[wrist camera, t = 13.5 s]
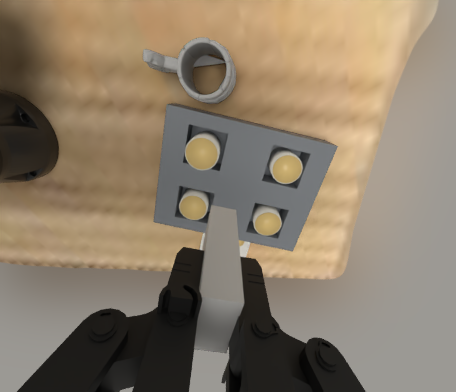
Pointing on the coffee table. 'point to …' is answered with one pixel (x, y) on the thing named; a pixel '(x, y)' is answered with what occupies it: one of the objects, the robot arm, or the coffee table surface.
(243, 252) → the card
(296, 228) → the console
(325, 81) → the coffee table surface
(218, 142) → the button
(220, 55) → the mug
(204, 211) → the button
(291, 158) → the button
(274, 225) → the button
